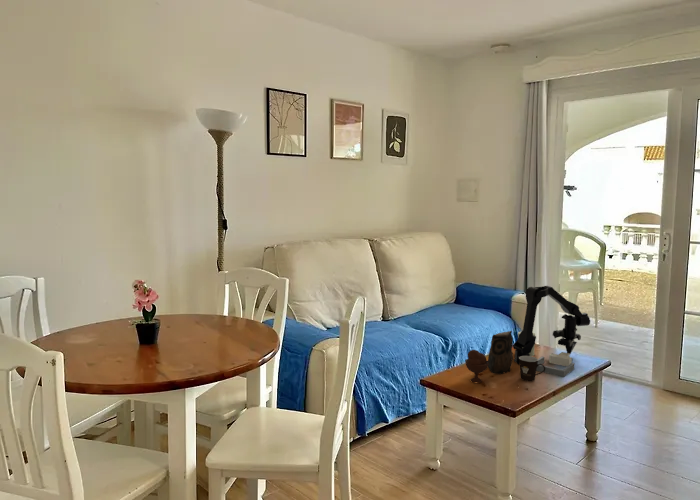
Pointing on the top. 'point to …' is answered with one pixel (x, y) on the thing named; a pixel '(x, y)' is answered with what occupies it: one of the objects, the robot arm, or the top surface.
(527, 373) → the coffee mug
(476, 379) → the ice cream bowl
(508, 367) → the owl
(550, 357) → the t block
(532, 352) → the can
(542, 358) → the bay
